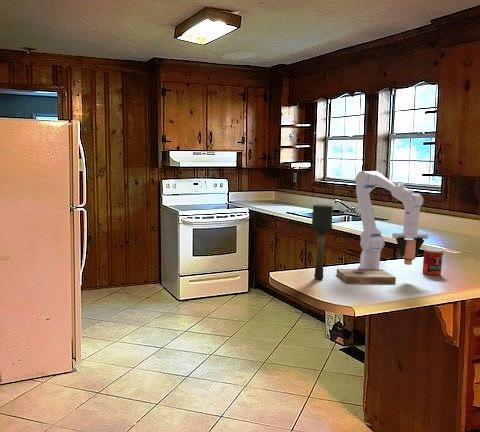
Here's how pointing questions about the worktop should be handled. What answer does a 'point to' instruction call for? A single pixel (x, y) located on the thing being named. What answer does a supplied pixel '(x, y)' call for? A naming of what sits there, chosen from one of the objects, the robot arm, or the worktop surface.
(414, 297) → the worktop surface
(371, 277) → the board
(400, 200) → the robot arm
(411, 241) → the peg
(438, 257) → the canned food
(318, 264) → the potato masher grenade
